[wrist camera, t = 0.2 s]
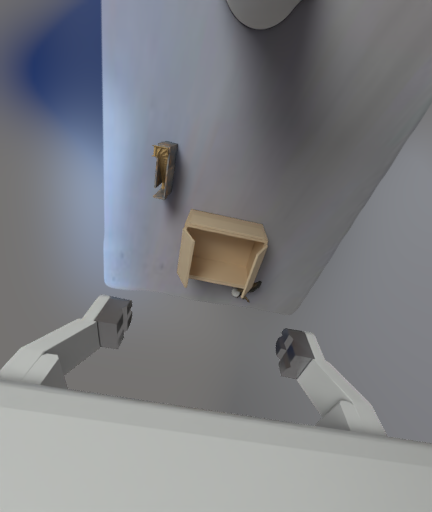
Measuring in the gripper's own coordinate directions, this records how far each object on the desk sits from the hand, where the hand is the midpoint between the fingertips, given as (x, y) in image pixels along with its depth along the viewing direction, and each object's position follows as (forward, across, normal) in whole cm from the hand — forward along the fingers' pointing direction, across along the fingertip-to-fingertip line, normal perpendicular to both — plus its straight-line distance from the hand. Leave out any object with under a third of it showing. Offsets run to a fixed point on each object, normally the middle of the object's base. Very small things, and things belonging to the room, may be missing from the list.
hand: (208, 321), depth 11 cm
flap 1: (+37, +6, +20) cm, 43 cm away
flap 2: (+37, -14, +20) cm, 44 cm away
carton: (+48, -4, +19) cm, 52 cm away
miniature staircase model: (+48, +13, +3) cm, 50 cm away
